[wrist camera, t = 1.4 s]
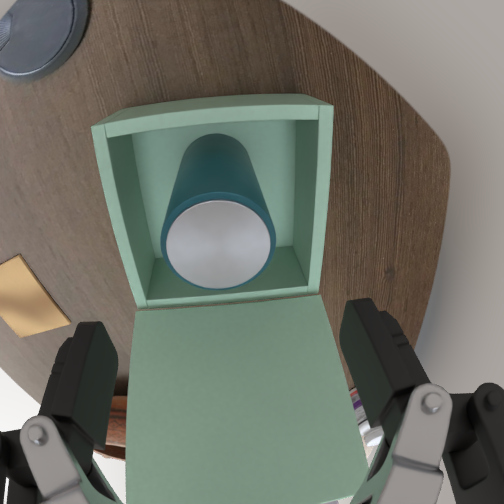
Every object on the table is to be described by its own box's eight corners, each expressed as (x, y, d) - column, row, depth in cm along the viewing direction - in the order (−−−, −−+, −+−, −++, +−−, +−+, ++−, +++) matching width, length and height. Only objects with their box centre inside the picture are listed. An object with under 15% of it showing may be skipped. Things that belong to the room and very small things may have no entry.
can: (170, 147, 22) (139, 218, 13) (238, 123, 22) (258, 176, 12) (195, 206, 25) (187, 305, 16) (258, 185, 24) (288, 274, 15)
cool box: (120, 109, 21) (90, 126, 15) (304, 93, 22) (334, 105, 16) (149, 261, 28) (137, 309, 23) (299, 247, 29) (318, 293, 24)
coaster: (-26, 278, 27) (-27, 280, 26) (20, 253, 26) (18, 255, 26) (21, 335, 32) (20, 338, 32) (71, 321, 32) (70, 324, 31)
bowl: (96, 416, 44) (89, 467, 36) (77, 365, 36) (61, 429, 28) (185, 428, 47) (186, 480, 39) (190, 380, 39) (191, 448, 31)
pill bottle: (373, 394, 48) (390, 441, 40) (344, 402, 48) (359, 451, 40) (378, 378, 45) (398, 428, 37) (347, 387, 45) (364, 440, 37)
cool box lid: (126, 513, 12) (151, 513, 15) (374, 489, 13) (351, 494, 16) (135, 310, 22) (151, 343, 26) (320, 294, 23) (312, 328, 27)
